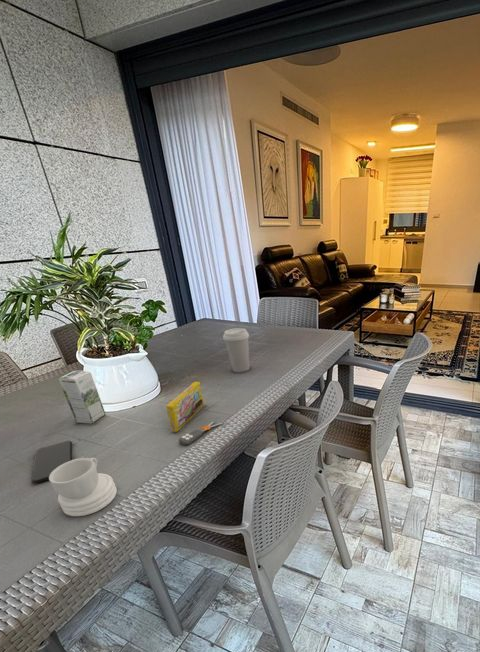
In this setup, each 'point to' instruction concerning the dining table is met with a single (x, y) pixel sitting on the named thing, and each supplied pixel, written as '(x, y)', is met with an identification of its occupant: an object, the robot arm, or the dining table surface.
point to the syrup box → (82, 396)
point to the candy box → (185, 406)
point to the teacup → (75, 478)
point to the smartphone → (50, 460)
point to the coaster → (91, 498)
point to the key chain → (195, 434)
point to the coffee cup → (237, 348)
